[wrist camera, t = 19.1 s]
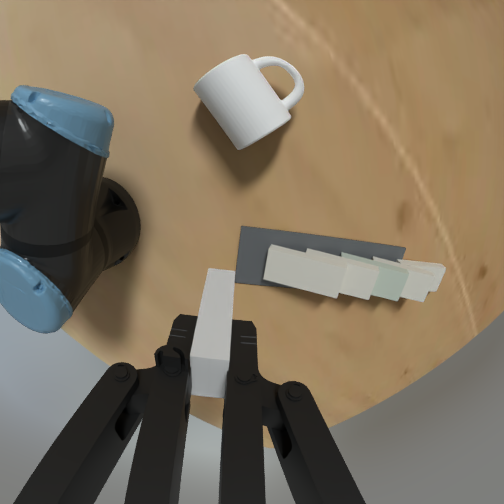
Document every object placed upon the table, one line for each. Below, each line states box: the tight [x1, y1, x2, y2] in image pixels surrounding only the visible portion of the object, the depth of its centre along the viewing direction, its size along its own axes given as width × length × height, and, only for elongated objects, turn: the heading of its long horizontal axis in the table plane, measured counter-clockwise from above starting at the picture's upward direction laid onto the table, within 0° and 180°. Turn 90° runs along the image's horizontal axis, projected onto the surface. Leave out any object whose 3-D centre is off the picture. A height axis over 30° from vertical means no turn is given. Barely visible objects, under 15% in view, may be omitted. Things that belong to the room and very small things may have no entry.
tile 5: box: [396, 259, 446, 292], centre depth 47 cm, size 2×5×12 cm
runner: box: [235, 226, 406, 288], centre depth 46 cm, size 29×10×1 cm, turn 83°
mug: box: [194, 54, 304, 150], centre depth 31 cm, size 12×10×8 cm
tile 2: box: [306, 248, 380, 300], centre depth 44 cm, size 2×5×12 cm
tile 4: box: [372, 256, 435, 302], centre depth 44 cm, size 2×5×12 cm
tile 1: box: [263, 244, 347, 298], centre depth 43 cm, size 2×5×12 cm
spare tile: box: [340, 252, 409, 301], centre depth 44 cm, size 2×5×12 cm
